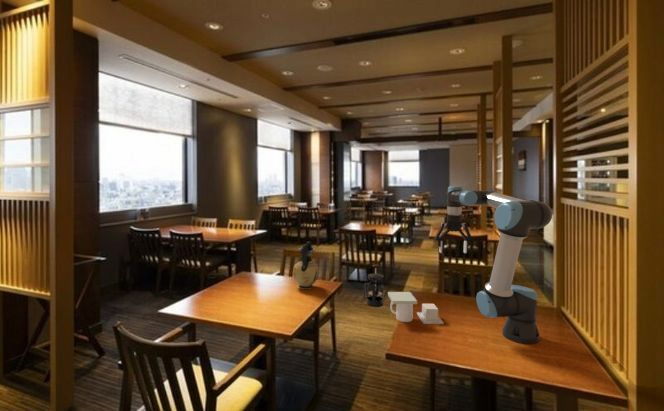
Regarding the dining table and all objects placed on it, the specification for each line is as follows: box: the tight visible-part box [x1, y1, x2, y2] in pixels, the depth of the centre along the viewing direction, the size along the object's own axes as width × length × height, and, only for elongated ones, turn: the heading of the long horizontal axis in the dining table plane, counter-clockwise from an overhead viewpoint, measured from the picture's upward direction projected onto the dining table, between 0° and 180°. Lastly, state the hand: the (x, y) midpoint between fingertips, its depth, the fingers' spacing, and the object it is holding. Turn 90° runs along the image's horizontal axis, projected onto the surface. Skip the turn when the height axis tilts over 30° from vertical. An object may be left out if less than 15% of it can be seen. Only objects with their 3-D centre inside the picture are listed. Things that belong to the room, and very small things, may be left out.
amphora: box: [292, 240, 320, 290], centre depth 234 cm, size 18×17×30 cm
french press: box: [363, 264, 384, 308], centre depth 204 cm, size 12×9×23 cm
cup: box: [389, 301, 414, 323], centre depth 183 cm, size 8×12×10 cm
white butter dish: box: [416, 303, 444, 325], centre depth 184 cm, size 14×10×6 cm
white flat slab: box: [387, 291, 418, 305], centre depth 183 cm, size 14×12×2 cm
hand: (452, 252), depth 196 cm, fingers open, 13 cm apart
